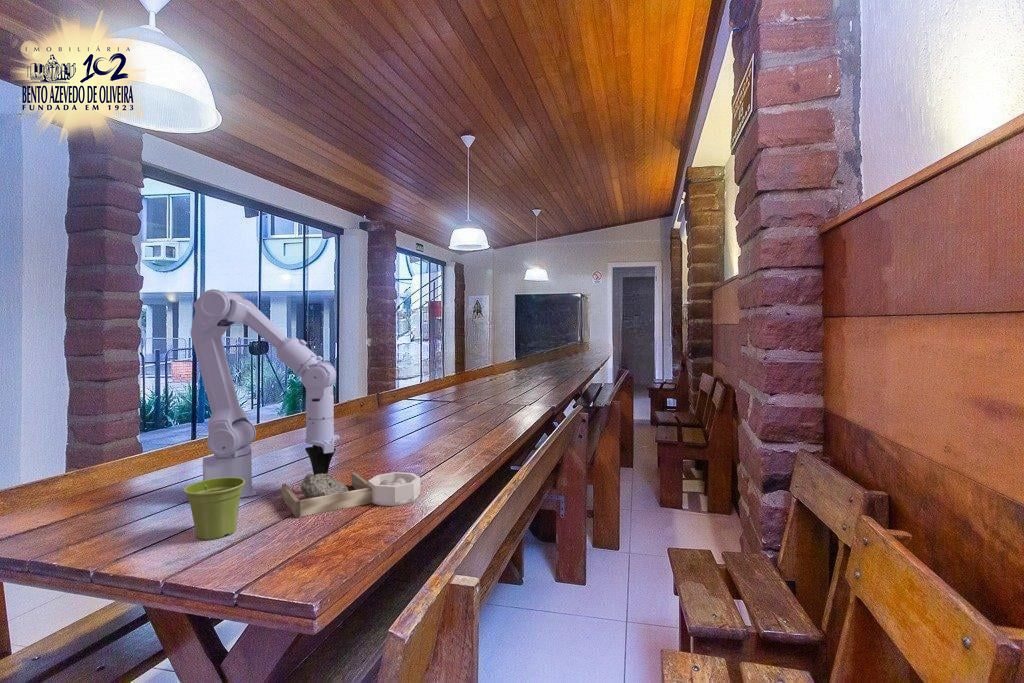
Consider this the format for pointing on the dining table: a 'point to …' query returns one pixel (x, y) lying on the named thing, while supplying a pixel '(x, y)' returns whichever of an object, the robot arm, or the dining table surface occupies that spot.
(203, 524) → the plant pot
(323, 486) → the rock sample
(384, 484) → the pebble
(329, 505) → the tray frame
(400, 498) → the bowl
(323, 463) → the robot arm
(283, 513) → the dining table surface
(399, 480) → the pebble
